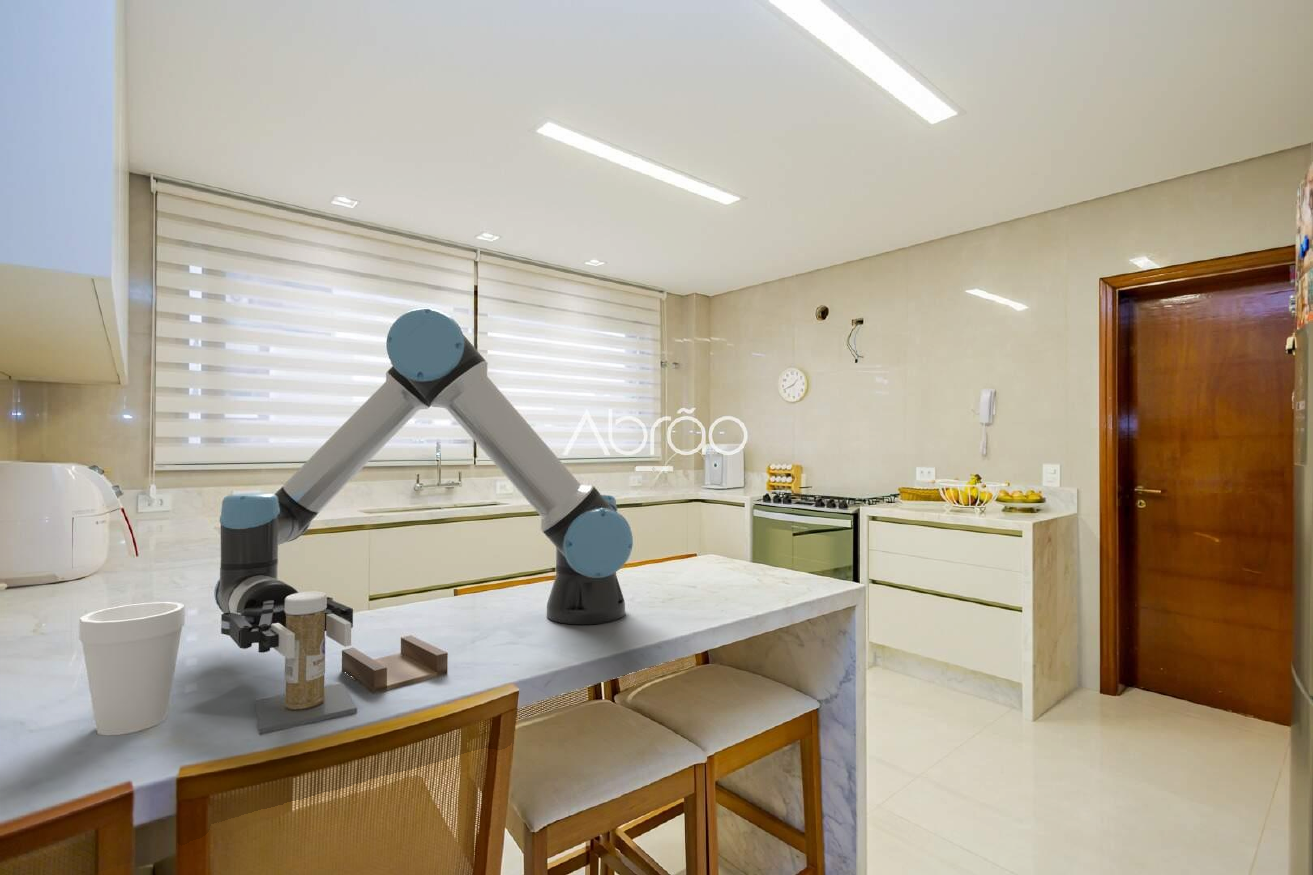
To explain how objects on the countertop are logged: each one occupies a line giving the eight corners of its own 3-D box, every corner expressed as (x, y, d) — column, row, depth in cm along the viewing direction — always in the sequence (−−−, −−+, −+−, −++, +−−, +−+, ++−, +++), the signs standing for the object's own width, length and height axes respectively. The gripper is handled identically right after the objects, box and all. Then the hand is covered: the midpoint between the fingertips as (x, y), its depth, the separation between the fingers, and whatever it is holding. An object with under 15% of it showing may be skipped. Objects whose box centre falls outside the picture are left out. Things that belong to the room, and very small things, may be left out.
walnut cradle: (410, 654, 98) (411, 635, 98) (447, 673, 90) (447, 652, 90) (341, 670, 91) (341, 650, 91) (374, 693, 82) (374, 670, 82)
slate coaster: (342, 687, 85) (342, 682, 85) (356, 712, 76) (356, 707, 76) (254, 704, 79) (255, 699, 79) (260, 733, 71) (260, 728, 71)
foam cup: (70, 749, 67) (72, 627, 67) (83, 719, 74) (85, 609, 75) (182, 726, 73) (183, 613, 73) (184, 700, 80) (185, 598, 80)
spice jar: (326, 706, 77) (328, 596, 77) (283, 714, 74) (285, 601, 74) (324, 692, 81) (325, 588, 81) (282, 700, 78) (284, 592, 78)
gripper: (334, 619, 97) (398, 654, 81) (186, 646, 84) (226, 693, 67) (335, 571, 97) (398, 595, 81) (187, 590, 84) (227, 623, 68)
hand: (320, 640), depth 74 cm, fingers open, 5 cm apart
